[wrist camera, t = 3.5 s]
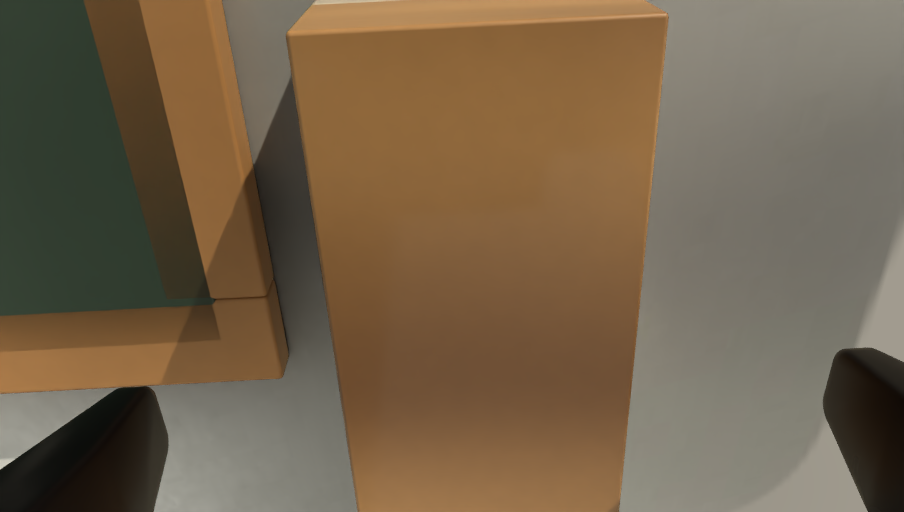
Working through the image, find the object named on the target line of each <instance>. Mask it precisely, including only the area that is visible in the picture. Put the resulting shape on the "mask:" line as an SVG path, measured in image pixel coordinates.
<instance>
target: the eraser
mask: <svg viewBox="0 0 904 512" xmlns="http://www.w3.org/2000/svg"><path fill="white" fill-rule="evenodd" d="M668 18H669V17H668V13H666V12H664V11H663V10H661V9H659V8H657V7H656V6H654V5H652V4H650V3H648V2H647V1H645V0H315V1H314V2H313V4H312V5H311V6H310V7H309V8H308V9H307V10H306V12H305V13H304V14H303V15H302V16H301V17H300V18H299V19H298V20H297V22H296V23H295V24H294V25H293V26H292V27H291V28H290V29H289V30H288V32H287V34H286V40H287V47H288V54H289V60H290V67H291V74H292V80H293V87H294V93H295V100H296V107H297V113H298V120H299V127H300V133H301V140H302V146H303V153H304V160H305V166H306V173H307V179H308V186H309V193H310V199H311V206H312V213H313V219H314V226H315V232H316V239H317V246H318V252H319V259H320V266H321V272H322V279H323V285H324V292H325V299H326V305H327V312H328V318H329V325H330V332H331V338H332V345H333V352H334V358H335V365H336V371H337V378H338V385H339V391H340V398H341V405H342V411H343V418H344V424H345V431H346V438H347V444H348V451H349V457H350V464H351V471H352V477H353V484H354V491H355V497H356V504H357V510H358V512H619V506H620V496H621V486H622V476H623V466H624V456H625V446H626V436H627V426H628V416H629V406H630V396H631V386H632V376H633V366H634V356H635V346H636V337H637V327H638V317H639V307H640V297H641V287H642V277H643V267H644V257H645V247H646V237H647V227H648V217H649V207H650V197H651V187H652V177H653V167H654V158H655V148H656V138H657V128H658V118H659V108H660V98H661V88H662V78H663V68H664V58H665V48H666V38H667V28H668Z"/></svg>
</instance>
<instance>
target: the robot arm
mask: <svg viewBox="0 0 904 512" xmlns="http://www.w3.org/2000/svg"><path fill="white" fill-rule="evenodd" d="M823 409H824V413H825V416H826V419H827V421H828V423H829V426H830V428H831V430H832V432H833V435H834V437H835V439H836V441H837V444H838V446H839V448H840V450H841V453H842V455H843V457H844V459H845V461H846V464H847V466H848V468H849V471H850V473H851V475H852V477H853V480H854V482H855V484H856V486H857V489H858V491H859V493H860V495H861V498H862V500H863V502H864V504H865V506H866V508H867V510H868V512H904V362H902V361H900V360H898V359H896V358H893V357H891V356H889V355H887V354H885V353H883V352H881V351H878V350H876V349H873V348H850V349H842V350H840V351H839V352H837V354H836V355H835V357H834V359H833V363H832V367H831V370H830V374H829V378H828V382H827V385H826V389H825V393H824V397H823ZM167 453H168V433H167V430H166V426H165V423H164V420H163V417H162V413H161V410H160V407H159V404H158V401H157V397H156V395H155V393H154V391H153V390H152V389H151V388H149V387H147V386H142V387H123V388H118V389H116V390H114V391H113V392H111V393H110V394H108V395H107V396H106V397H104V398H103V399H101V400H100V401H98V402H97V403H96V404H94V405H93V406H91V407H90V408H88V409H87V410H85V411H84V412H83V413H81V414H80V415H78V416H77V417H75V418H74V419H73V420H71V421H70V422H68V423H67V424H65V425H64V426H62V427H61V428H60V429H58V430H57V431H55V432H54V433H52V434H51V435H50V436H48V437H47V438H45V439H44V440H42V441H41V442H39V443H38V444H37V445H35V446H34V447H32V448H31V449H29V450H28V451H26V452H25V453H24V454H22V455H21V456H19V457H18V458H16V459H15V460H14V461H12V462H11V463H9V464H8V465H6V466H5V467H3V468H2V469H1V470H0V512H153V511H154V507H155V503H156V498H157V494H158V490H159V486H160V482H161V478H162V474H163V469H164V465H165V461H166V457H167Z"/></svg>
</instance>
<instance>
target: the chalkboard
mask: <svg viewBox="0 0 904 512" xmlns="http://www.w3.org/2000/svg"><path fill="white" fill-rule="evenodd" d="M273 277H274V274H273V269H272V264H271V258H270V253H269V248H268V242H267V237H266V232H265V227H264V221H263V216H262V211H261V205H260V200H259V195H258V190H257V184H256V179H255V174H254V168H253V163H252V158H251V152H250V147H249V142H248V137H247V131H246V126H245V121H244V115H243V110H242V105H241V100H240V94H239V89H238V84H237V78H236V73H235V68H234V63H233V57H232V52H231V47H230V41H229V36H228V31H227V25H226V20H225V15H224V10H223V4H222V0H0V394H6V393H24V392H42V391H61V390H79V389H97V388H116V387H134V386H152V385H171V384H189V383H207V382H226V381H244V380H262V379H280V378H282V377H283V375H284V371H285V368H286V364H287V361H288V357H289V354H288V349H287V343H286V338H285V333H284V327H283V322H282V317H281V312H280V306H279V301H278V296H277V290H276V285H275V282H274V280H273Z"/></svg>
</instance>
